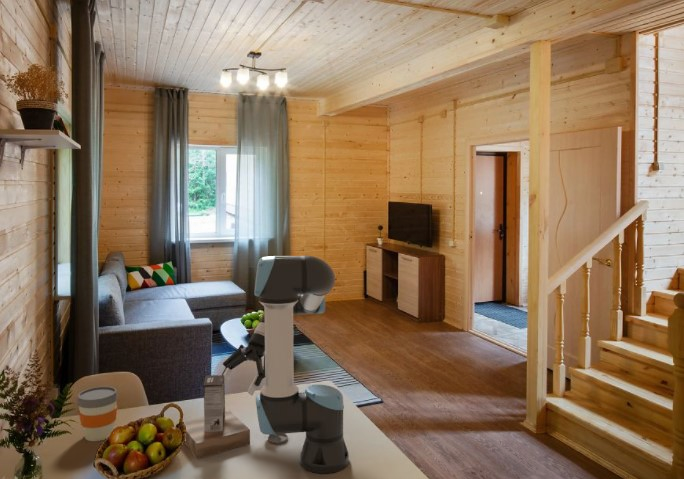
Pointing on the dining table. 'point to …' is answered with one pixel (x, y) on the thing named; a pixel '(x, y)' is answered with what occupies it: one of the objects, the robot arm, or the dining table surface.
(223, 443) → the walnut plinth
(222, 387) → the coffee box
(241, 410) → the dining table surface
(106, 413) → the reusable coffee cup
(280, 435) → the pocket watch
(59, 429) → the dining table surface
